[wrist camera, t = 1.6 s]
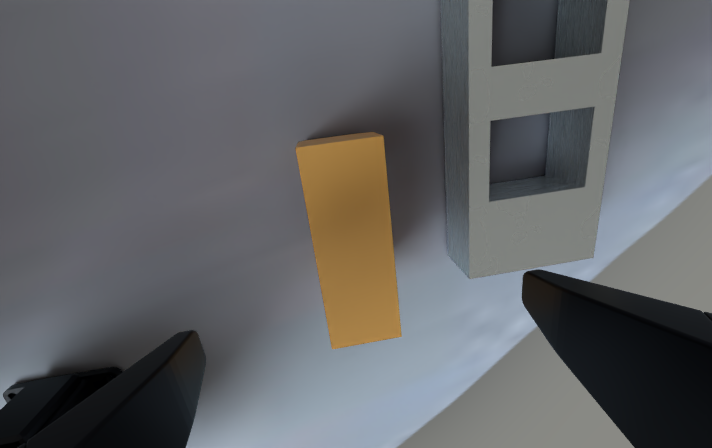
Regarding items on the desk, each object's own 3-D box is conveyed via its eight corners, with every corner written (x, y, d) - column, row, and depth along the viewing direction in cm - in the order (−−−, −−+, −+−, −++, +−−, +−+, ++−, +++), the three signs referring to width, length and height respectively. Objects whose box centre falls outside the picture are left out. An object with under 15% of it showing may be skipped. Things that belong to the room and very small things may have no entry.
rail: (555, 237, 21) (593, 257, 18) (447, 255, 20) (469, 279, 17) (590, -138, 14) (657, -198, 12) (437, -126, 14) (467, -186, 11)
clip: (375, 270, 20) (401, 336, 14) (326, 278, 20) (332, 349, 14) (359, 126, 17) (383, 135, 11) (302, 134, 17) (295, 147, 11)
